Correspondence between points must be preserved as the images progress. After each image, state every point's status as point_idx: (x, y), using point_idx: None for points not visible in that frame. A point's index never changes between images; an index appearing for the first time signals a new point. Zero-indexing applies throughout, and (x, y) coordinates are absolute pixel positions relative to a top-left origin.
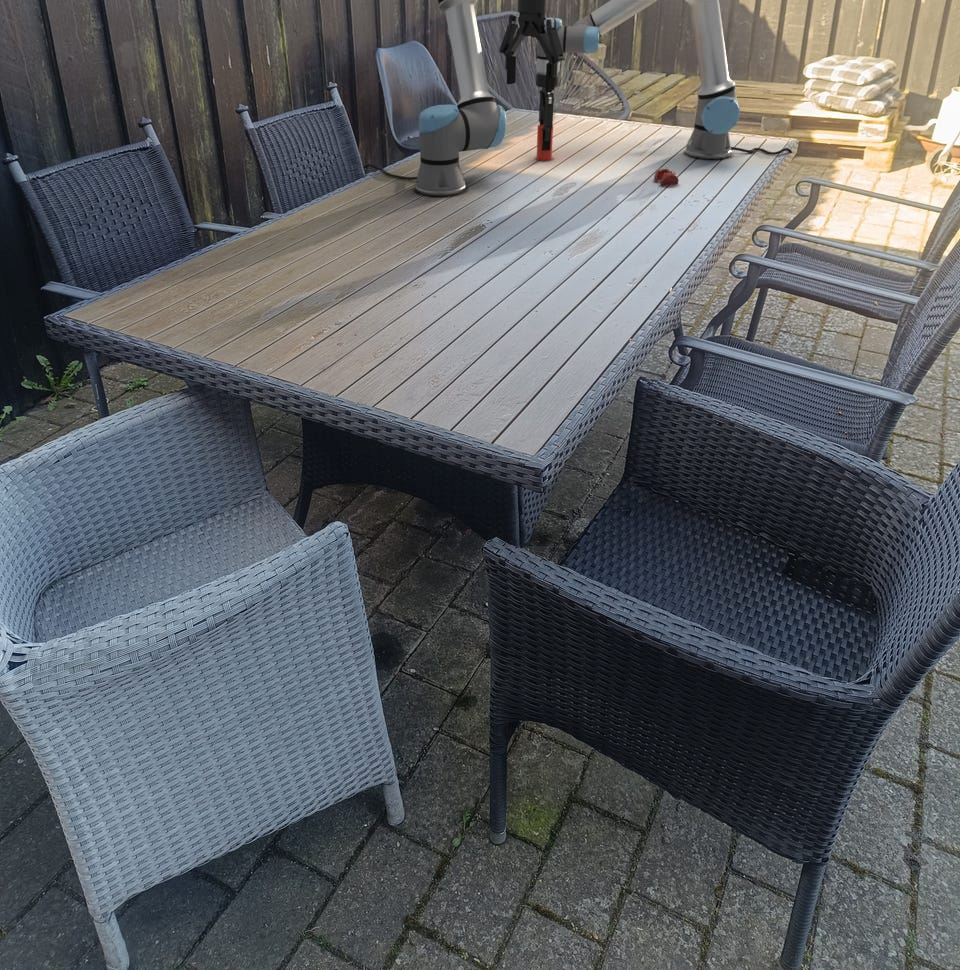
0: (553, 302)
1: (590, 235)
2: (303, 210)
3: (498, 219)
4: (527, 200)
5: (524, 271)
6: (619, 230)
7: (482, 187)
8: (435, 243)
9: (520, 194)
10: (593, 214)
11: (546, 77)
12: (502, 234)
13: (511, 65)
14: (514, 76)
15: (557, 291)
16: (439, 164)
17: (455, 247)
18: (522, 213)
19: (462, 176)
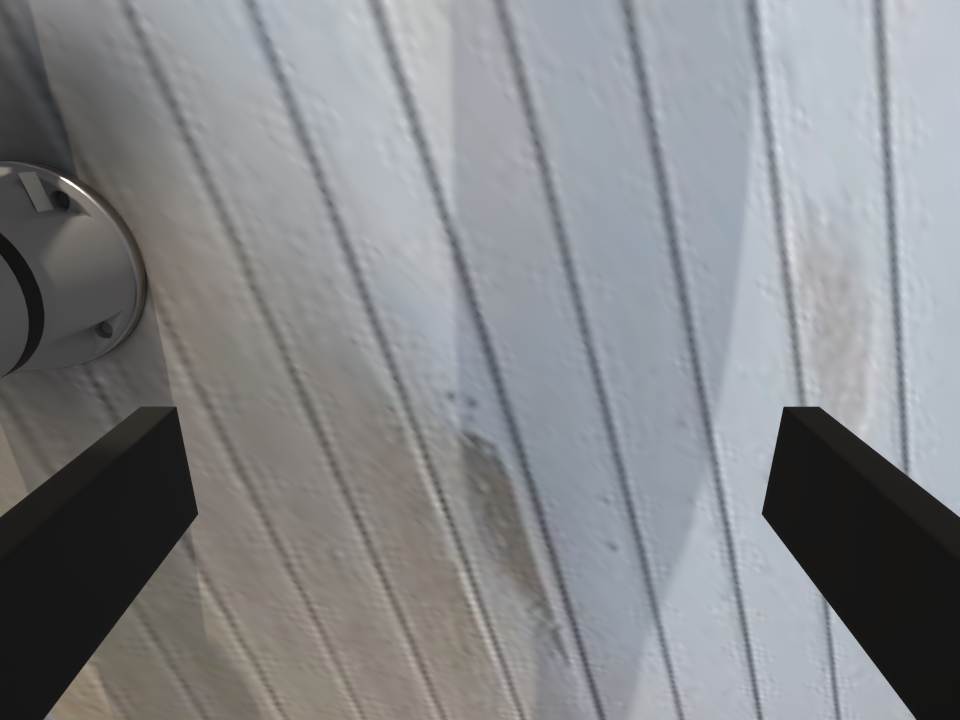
0: None
1: (813, 273)
2: None
3: (466, 365)
4: (384, 116)
5: (792, 597)
6: (883, 154)
7: (116, 114)
8: (481, 611)
9: (301, 69)
10: (706, 63)
11: (856, 625)
12: (573, 454)
13: (48, 641)
14: (135, 466)
15: None
16: (29, 356)
17: (543, 598)
18: (483, 259)
19: (69, 218)
